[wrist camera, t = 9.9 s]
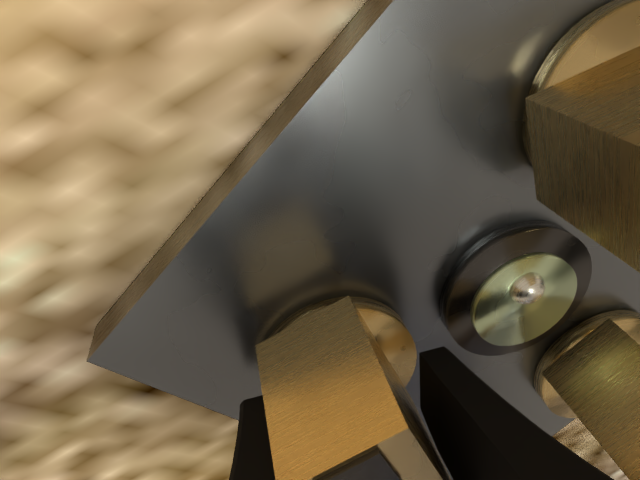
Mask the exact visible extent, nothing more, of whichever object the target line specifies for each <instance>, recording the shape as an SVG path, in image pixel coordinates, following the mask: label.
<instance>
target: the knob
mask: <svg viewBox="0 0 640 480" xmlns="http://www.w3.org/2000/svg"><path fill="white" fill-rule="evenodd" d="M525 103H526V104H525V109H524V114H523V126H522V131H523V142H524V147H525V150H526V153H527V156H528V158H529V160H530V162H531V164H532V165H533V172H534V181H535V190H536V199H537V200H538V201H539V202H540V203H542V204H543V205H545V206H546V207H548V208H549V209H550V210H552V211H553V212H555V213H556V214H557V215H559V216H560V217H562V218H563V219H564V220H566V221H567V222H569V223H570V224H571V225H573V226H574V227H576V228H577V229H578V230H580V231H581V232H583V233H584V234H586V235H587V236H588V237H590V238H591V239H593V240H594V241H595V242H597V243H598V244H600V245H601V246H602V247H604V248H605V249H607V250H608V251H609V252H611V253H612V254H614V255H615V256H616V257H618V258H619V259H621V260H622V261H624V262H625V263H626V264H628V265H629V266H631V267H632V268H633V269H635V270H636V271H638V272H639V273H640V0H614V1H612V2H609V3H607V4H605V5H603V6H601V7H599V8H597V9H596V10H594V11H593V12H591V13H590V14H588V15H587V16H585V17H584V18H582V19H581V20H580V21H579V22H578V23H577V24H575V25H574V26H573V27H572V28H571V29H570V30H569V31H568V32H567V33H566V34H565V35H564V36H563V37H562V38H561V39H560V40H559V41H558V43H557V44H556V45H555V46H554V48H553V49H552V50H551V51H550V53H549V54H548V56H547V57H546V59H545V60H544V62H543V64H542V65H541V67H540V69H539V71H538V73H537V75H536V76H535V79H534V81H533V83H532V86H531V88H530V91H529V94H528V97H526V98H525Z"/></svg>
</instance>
